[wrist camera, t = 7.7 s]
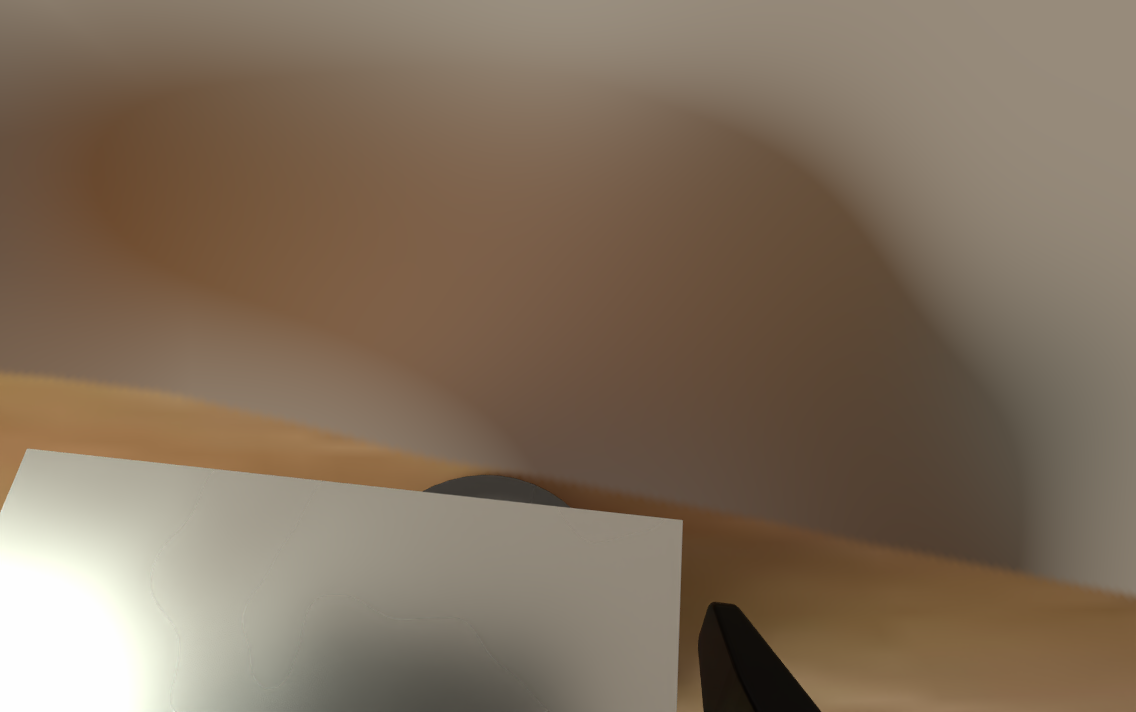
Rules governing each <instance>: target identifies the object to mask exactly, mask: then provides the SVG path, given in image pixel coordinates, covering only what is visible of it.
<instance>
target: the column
mask: <svg viewBox="0 0 1136 712" xmlns="http://www.w3.org/2000/svg"><path fill="white" fill-rule="evenodd" d="M682 528H683V520H676V519H667V518H658V517H649V516H640V515H631V514H621V513H612V512H603V511H594V510H585V509H576V508H566V507H557V506H548V505H539V504H530V503H521V502H511V501H502V500H493V499H484V498H475V497H466V496H456V495H447V494H438V493H429V492H420V491H411V490H401V489H392V488H383V487H374V486H365V485H356V484H346V483H337V482H328V481H319V480H310V479H301V478H291V477H282V476H273V475H264V474H255V473H246V472H236V471H227V470H218V469H209V468H200V467H191V466H181V465H172V464H163V463H154V462H145V461H136V460H126V459H117V458H108V457H99V456H90V455H81V454H71V453H62V452H53V451H44V450H35V449H27V450H26V453H25V455H24V457H23V460H22V462H21V465H20V467H19V469H18V472H17V474H16V477H15V479H14V481H13V484H12V486H11V489H10V491H9V493H8V496H7V498H6V501H5V503H4V505H3V508H2V510H1V513H0V712H677V682H678V652H679V621H680V590H681V559H682Z"/></svg>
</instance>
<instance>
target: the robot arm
mask: <svg viewBox="0 0 1136 712" xmlns="http://www.w3.org/2000/svg"><path fill="white" fill-rule="evenodd" d="M698 654H699V665H700V676H701V687H702V698H703V709H704V712H821V711H820V709H819V708H818V707H817V706H816V704H815V703H814V702H813V701H812V699H811V698H810V697H809V696H808V694H807V693H806V692H805V691H804V689H803V688H802V687H801V686H800V684H799V683H798V682H797V680H796V679H795V678H794V677H793V675H792V674H791V673H790V672H789V670H788V669H787V668H786V667H785V665H784V664H783V663H782V662H781V660H780V659H779V658H778V657H777V655H776V654H775V653H774V651H773V650H772V649H771V648H770V646H769V645H768V644H767V643H766V641H765V640H764V639H763V638H762V636H761V635H760V634H759V633H758V631H757V630H756V629H755V627H754V626H753V625H752V624H751V622H750V621H749V620H748V619H747V617H746V616H745V615H744V614H743V612H742V611H741V610H740V609H739V608H738V607H737V606H736V605H734V604H728V603H719V602H713V603H711V604H710V605H709V607H708V609H707V612H706V616H705V619H704V622H703V625H702V628H701V631H700V635H699V640H698Z"/></svg>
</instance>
